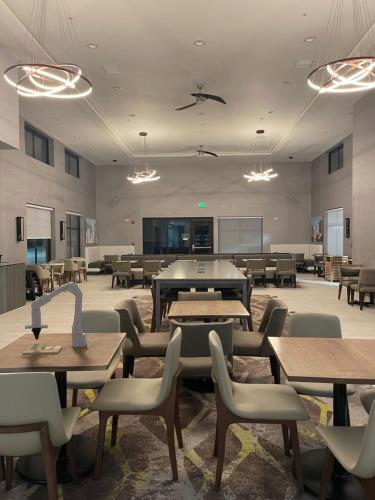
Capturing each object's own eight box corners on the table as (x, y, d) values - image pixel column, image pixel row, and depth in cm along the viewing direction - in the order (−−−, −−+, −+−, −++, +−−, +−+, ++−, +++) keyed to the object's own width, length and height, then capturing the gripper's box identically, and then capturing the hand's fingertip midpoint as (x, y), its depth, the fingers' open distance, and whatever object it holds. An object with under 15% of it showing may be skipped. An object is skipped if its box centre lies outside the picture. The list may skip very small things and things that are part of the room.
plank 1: (45, 344, 269) (45, 343, 268) (42, 351, 264) (42, 349, 263) (30, 345, 269) (29, 343, 268) (27, 351, 264) (27, 350, 263)
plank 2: (62, 347, 270) (62, 346, 270) (59, 350, 264) (59, 348, 264) (47, 348, 270) (47, 346, 270) (44, 351, 264) (44, 349, 264)
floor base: (63, 348, 271) (63, 346, 271) (57, 354, 257) (57, 352, 257) (30, 349, 271) (30, 346, 271) (22, 355, 256) (22, 353, 256)
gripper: (49, 317, 271) (49, 337, 272) (27, 317, 271) (28, 338, 271) (45, 319, 264) (46, 340, 265) (23, 320, 264) (24, 340, 264)
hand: (36, 339), depth 267 cm, fingers closed
